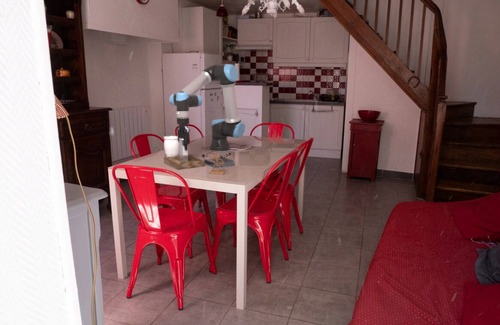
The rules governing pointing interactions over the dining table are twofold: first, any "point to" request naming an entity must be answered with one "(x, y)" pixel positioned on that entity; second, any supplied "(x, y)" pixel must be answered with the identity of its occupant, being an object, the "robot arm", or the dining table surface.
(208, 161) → the hitch block
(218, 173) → the tan ornamental figurine
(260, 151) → the dining table surface
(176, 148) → the jar
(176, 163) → the tray
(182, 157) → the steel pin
